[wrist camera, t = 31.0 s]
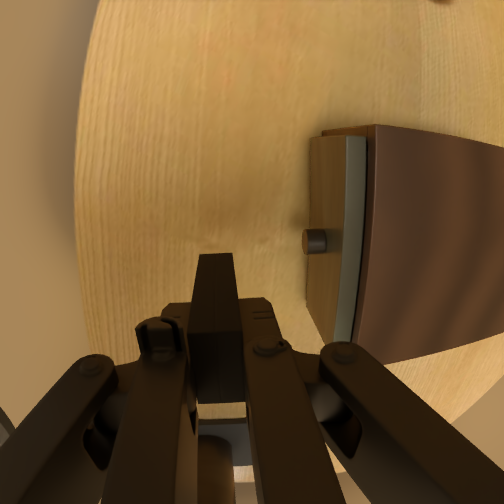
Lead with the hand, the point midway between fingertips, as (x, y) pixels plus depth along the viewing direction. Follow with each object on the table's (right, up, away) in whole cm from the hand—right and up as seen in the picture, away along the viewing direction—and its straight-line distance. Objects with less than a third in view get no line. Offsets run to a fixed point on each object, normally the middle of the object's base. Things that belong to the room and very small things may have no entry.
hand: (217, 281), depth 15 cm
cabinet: (+14, +4, +10) cm, 18 cm away
